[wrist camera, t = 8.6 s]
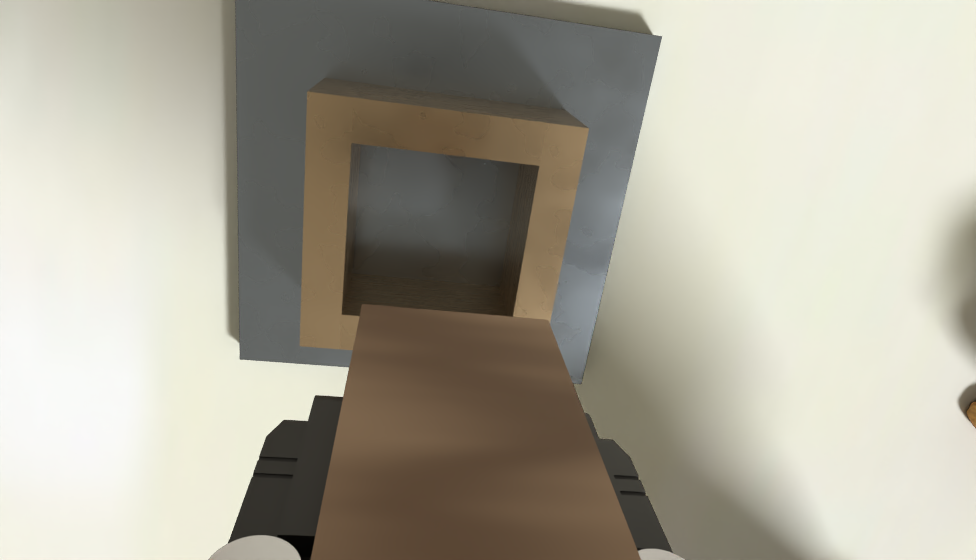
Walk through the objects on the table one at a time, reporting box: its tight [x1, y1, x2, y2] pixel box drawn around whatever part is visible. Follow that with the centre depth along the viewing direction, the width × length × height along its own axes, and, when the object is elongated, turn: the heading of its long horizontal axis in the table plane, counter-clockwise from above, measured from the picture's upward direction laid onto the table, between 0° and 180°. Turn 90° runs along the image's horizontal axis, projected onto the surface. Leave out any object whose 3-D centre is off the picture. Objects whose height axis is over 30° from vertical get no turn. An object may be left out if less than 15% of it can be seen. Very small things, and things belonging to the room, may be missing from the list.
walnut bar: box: [311, 304, 641, 560], centre depth 10 cm, size 4×4×9 cm
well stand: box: [235, 0, 662, 384], centre depth 25 cm, size 16×16×5 cm
